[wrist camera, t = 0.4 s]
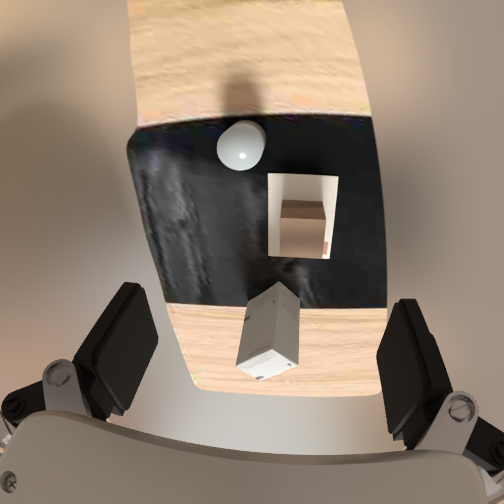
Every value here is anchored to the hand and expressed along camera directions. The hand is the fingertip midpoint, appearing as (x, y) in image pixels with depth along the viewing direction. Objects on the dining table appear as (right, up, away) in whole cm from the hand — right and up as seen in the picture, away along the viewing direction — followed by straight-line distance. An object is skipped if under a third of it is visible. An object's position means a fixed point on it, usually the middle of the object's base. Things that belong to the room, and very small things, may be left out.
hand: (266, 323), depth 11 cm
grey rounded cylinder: (-1, +18, +29) cm, 34 cm away
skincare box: (+3, -6, +45) cm, 45 cm away
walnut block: (+7, +8, +35) cm, 36 cm away
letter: (+7, +8, +35) cm, 36 cm away
